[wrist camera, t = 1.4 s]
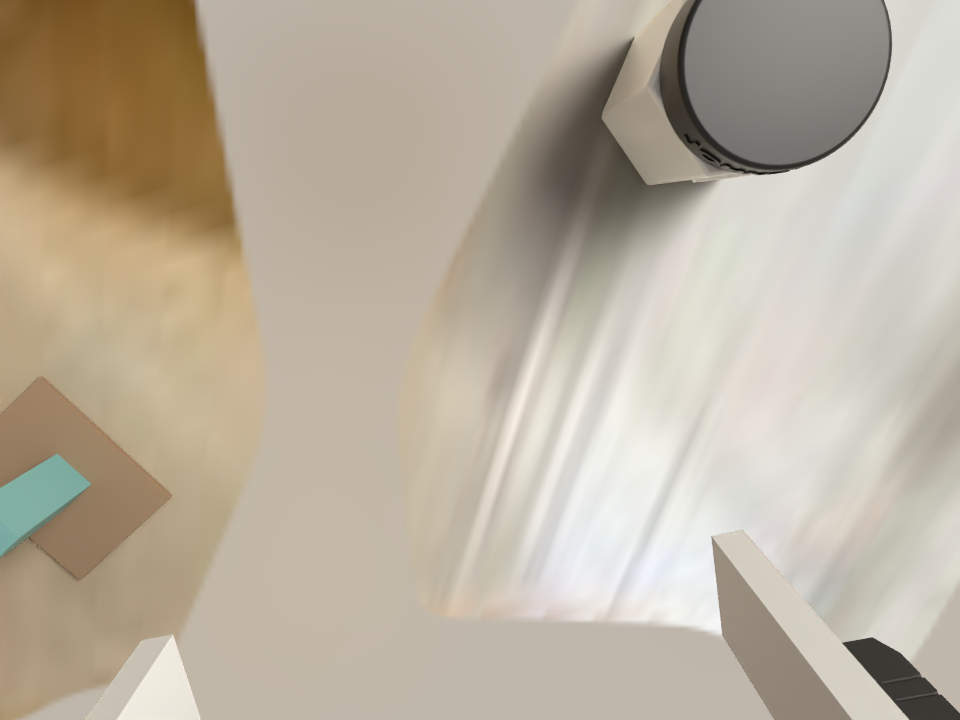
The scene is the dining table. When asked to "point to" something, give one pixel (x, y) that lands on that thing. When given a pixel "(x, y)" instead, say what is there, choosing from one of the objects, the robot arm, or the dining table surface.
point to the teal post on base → (67, 482)
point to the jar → (747, 86)
